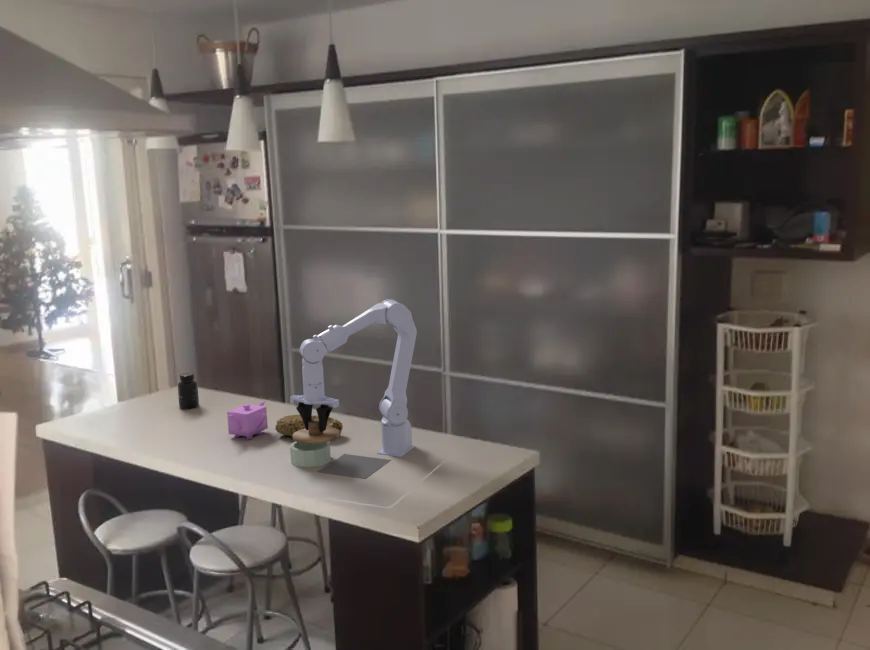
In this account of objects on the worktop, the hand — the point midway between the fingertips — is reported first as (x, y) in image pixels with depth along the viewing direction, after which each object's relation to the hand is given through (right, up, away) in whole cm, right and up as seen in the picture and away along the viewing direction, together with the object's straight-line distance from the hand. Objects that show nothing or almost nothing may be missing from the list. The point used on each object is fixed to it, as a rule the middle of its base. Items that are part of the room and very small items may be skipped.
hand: (315, 429), depth 226 cm
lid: (0, -2, 0) cm, 2 cm away
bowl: (-2, -9, +3) cm, 10 cm away
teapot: (-25, -5, +28) cm, 37 cm away
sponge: (-6, -6, +25) cm, 26 cm away
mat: (+11, -10, -3) cm, 15 cm away
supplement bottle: (-54, 0, +61) cm, 81 cm away
